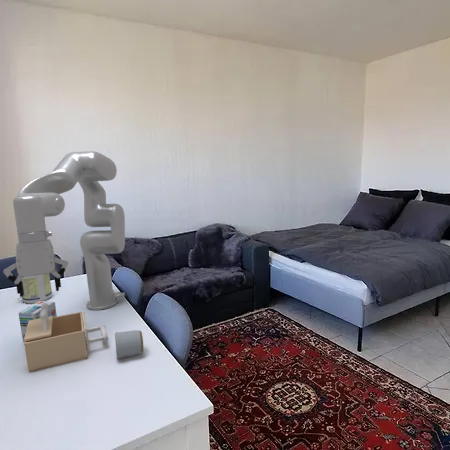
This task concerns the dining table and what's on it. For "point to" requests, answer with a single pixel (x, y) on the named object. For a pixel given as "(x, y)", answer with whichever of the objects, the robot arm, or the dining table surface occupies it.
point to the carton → (62, 343)
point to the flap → (39, 325)
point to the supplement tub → (36, 288)
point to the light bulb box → (34, 314)
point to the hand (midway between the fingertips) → (40, 292)
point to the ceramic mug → (128, 343)
